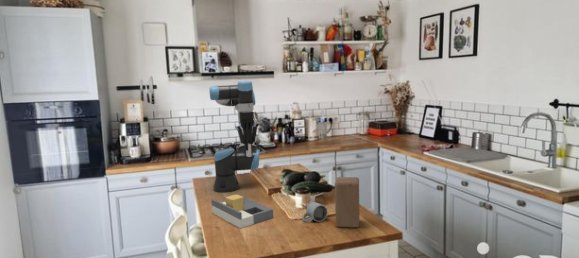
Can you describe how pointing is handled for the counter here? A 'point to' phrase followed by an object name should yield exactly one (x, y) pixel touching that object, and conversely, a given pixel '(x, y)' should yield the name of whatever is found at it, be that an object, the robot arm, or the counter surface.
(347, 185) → the wooden block
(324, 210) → the ceramic mug
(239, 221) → the tray
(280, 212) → the counter surface
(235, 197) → the ochre cube
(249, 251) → the counter surface
